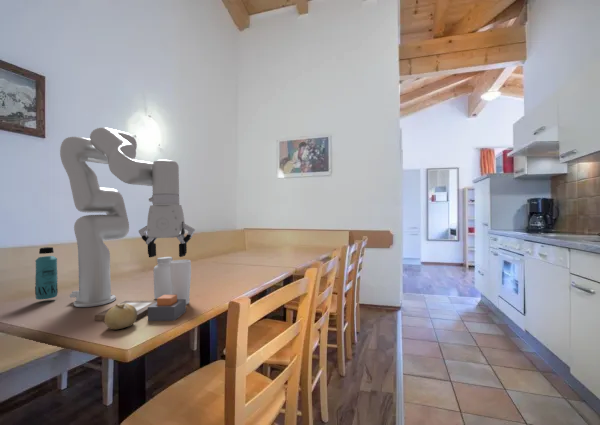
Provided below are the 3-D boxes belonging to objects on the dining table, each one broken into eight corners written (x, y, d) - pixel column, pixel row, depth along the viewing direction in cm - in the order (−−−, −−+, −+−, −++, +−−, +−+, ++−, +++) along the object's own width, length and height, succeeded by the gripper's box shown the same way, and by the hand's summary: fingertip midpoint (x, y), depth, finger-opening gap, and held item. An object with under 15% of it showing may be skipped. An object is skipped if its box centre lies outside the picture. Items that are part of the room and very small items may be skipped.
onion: (97, 330, 83) (97, 304, 83) (122, 320, 90) (122, 297, 90) (119, 334, 80) (119, 307, 80) (144, 323, 88) (143, 298, 88)
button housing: (147, 320, 90) (147, 307, 90) (161, 311, 98) (161, 299, 98) (174, 320, 89) (174, 306, 89) (185, 311, 97) (185, 299, 97)
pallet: (94, 320, 91) (94, 314, 91) (125, 305, 106) (125, 300, 106) (137, 320, 90) (137, 314, 90) (162, 304, 105) (162, 300, 105)
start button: (157, 308, 91) (157, 298, 91) (164, 304, 96) (163, 294, 96) (170, 308, 91) (170, 298, 91) (177, 304, 95) (177, 294, 95)
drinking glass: (195, 301, 109) (194, 259, 109) (186, 307, 102) (185, 262, 102) (176, 301, 109) (176, 259, 109) (166, 307, 102) (165, 262, 102)
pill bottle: (169, 293, 120) (168, 255, 120) (181, 296, 116) (180, 257, 116) (149, 298, 114) (149, 258, 114) (161, 301, 109) (160, 259, 109)
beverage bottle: (31, 302, 111) (30, 248, 111) (51, 298, 117) (50, 246, 117) (42, 304, 108) (40, 248, 108) (62, 299, 115) (61, 246, 115)
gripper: (131, 200, 90) (132, 258, 90) (189, 199, 90) (190, 257, 90) (145, 201, 98) (146, 255, 98) (198, 200, 97) (199, 254, 97)
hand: (167, 256), depth 94 cm, fingers open, 9 cm apart
